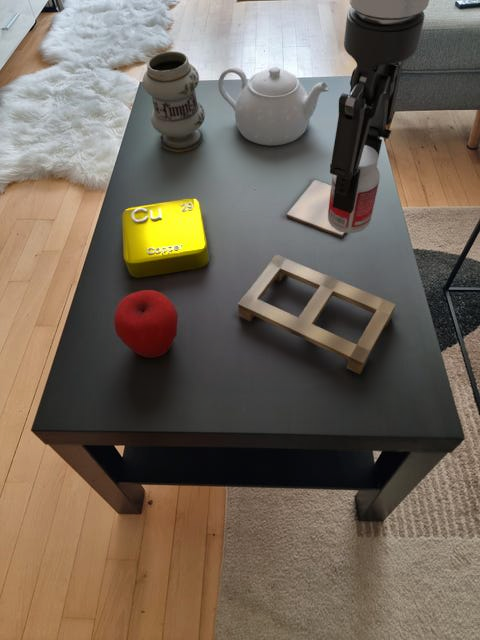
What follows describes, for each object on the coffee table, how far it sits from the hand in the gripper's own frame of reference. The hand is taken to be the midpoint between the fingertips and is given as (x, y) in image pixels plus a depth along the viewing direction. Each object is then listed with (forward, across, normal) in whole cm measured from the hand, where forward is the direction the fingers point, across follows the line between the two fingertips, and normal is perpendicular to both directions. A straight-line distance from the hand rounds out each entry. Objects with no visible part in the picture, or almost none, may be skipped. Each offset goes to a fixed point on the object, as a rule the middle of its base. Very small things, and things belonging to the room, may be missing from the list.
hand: (353, 193), depth 66 cm
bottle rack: (+21, +7, -1) cm, 22 cm away
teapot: (+22, -38, -34) cm, 55 cm away
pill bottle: (+5, 0, 0) cm, 5 cm away
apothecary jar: (+22, -24, -50) cm, 60 cm away
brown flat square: (+21, -18, -10) cm, 30 cm away
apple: (+21, +25, -21) cm, 39 cm away
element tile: (+22, +6, -33) cm, 39 cm away
